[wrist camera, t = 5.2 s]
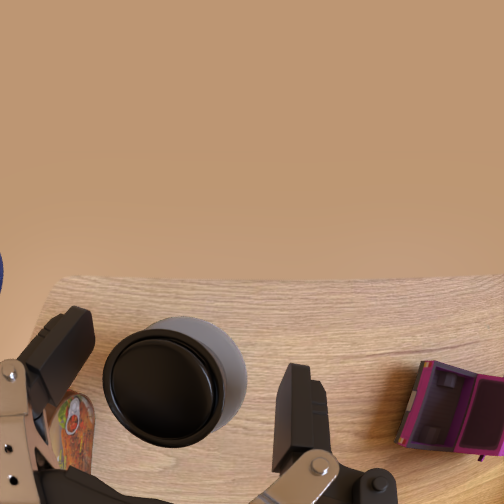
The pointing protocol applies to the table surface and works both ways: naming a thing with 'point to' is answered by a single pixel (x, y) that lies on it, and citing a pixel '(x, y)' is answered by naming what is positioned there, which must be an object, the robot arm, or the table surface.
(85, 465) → the tin
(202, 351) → the lotion bottle
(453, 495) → the table surface
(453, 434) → the toy truck
